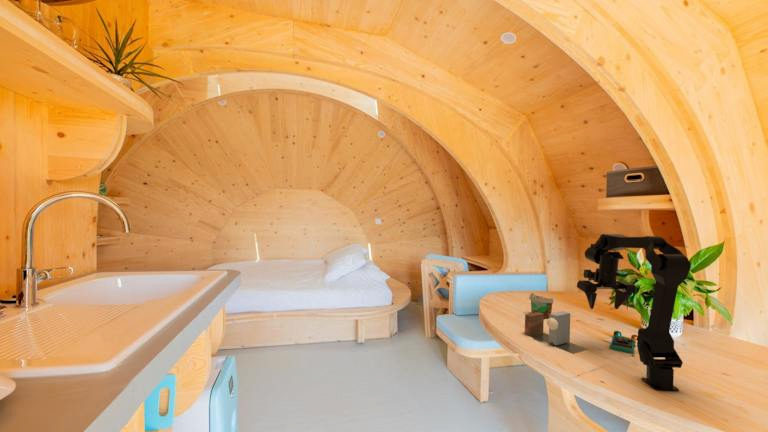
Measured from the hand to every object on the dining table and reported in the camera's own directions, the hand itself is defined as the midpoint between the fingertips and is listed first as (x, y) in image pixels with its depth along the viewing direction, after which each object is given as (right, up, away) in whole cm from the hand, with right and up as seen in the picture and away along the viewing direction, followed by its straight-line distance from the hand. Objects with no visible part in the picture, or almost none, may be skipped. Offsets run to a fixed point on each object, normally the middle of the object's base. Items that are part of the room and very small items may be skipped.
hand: (603, 308), depth 126 cm
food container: (-6, -15, +40) cm, 43 cm away
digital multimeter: (+9, -16, +2) cm, 18 cm away
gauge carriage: (-16, -14, +4) cm, 21 cm away
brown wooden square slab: (-20, -15, +14) cm, 28 cm away
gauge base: (-16, -15, +6) cm, 23 cm away
